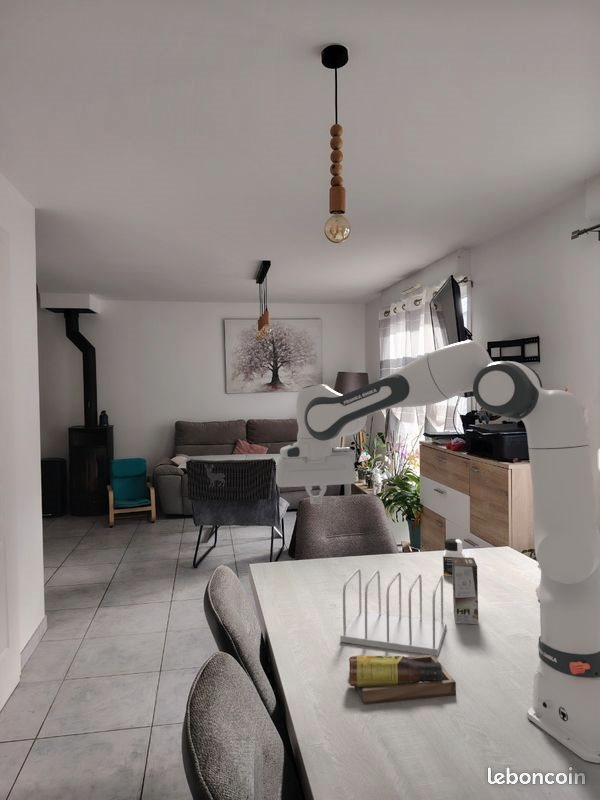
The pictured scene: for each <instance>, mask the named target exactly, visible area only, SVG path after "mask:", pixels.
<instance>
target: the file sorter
mask: <svg viewBox="0 0 600 800" xmlns="http://www.w3.org/2000/svg"><path fill="white" fill-rule="evenodd" d="M357 573H358V593H359V594H358V597H359V598H358V599H359V601H358V603H359V604H358V607H359V609H358V610H359V611H357V612H356V613H355V615H354V616H353V617H352V619H351V620H350V622H349V623H348V624H346V613H347V611H346V590H347V589H346V588H347V585H348V583H349V582H350V581H351V580H352V579H353V578H354V576H356V574H357ZM376 575H377V592H378V593H377V594H378V613H377V612H368V588H369V585H370V583H371V582H372V580H373V579H374V578H375V577H376ZM397 577H398V606H399V607H398V609H399V610H398V613H399V615H392V614H390V589H391V586H392V584H393V583H394V581H395V580H396V579H397ZM418 580H419V618H418V617H417V618H416V617H412V590H413V588H414V586H415V585H416V583H417V581H418ZM422 581H423V580H422V575H421V573H417V575H416V577H415V578H414V580H413V581H412V583H411V584H410V586H409V588H408V589H409V590H408V616H402V574H401V572H400V571H397V572H396V573H395V575H394V576H393V577H392V578H391V580H390V581H389V583H388V584H387V586H386V587H387V588H386V600H385V601H386V603H385V604H386V613H385V614H383V613H382V603H381V600H382V599H381V598H382V597H381V574H380V571H379V569H376V570H374V572H373V573H372V575H371V576H370V577H369V578H368V580H367V581H366V583H365V588H364V611H362V572H361V569H360V568H355V570H354V572H353V573H352V574H351V575H350V576H349V577H348V578H347V579H346V580H345V582H344V584H343V588H342V618H343V620H342V621H343V622H342V623H343V626H342V628H343V631H342V632H341V634H340V635H339V636H340V638H339V640H340V642H341V643H345V644H347V643H348V644H354V645H360V646H365V647H368V646H369V647H374V648H380V649H387V650H394V651H400V652H402V651H403V652H407V651H408V652H409V653H414V652H415V654H421V653H422V654H423V655H428V654H429V655H434V656H435V657H436V656H439V654H440V651H441V647H442V644H443V641H444V637H445V633H446V632H447V622H446V621H444V579H443V575H442V574H440V575H439V576H438V579H437V580H436V583H435V585H434V588H433V591H432V603H431V604H432V619H423V596H422V595H423V592H422V591H423V590H422V589H423V588H422V587H423V583H422ZM439 584H440V621H439V620H436V592H437V589H438V587H439ZM422 654H421V655H422Z"/></svg>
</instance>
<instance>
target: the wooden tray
mask: <svg viewBox="0 0 600 800" xmlns="http://www.w3.org/2000/svg"><path fill="white" fill-rule="evenodd" d="M406 657H407V658H409V659H412V660H415V661H417V662H420V663H421V662H422V663H433V662H440V661H439V659H438V658H437V657H436V655H428V654H423V655H413V656H406ZM441 667H442V681H434V682H419V683H413V684H403V685H393V686H383V687H358V686H355V688H356V691H357V693H358V695H359V697H360V699H361V701H362V703H363V705H373V704H382V703H383V704H384V703H391V702H401V701H411V700H419V699H421V700H423V699H429V698H430V699H431V698H440V697H450V696H456V695H457V681H456V679H454V678H453V677H452V675H451V674H450V673H449V672H448V670H447V669H446V668H445V667H444V666H443V665H442V664H441Z"/></svg>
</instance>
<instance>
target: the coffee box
mask: <svg viewBox="0 0 600 800" xmlns="http://www.w3.org/2000/svg"><path fill="white" fill-rule="evenodd" d="M452 575H453V576H452V597H453V598H452V601H453V603H452V604H453V614H454V621H455V623H456V624H467V625H470V624H471V625H479V592H478V590H479V589H478V587H479V585H478V584H479V582H478V564H477V562H476V561H475V558H474V557H464V558H452Z"/></svg>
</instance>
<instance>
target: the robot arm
mask: <svg viewBox="0 0 600 800" xmlns="http://www.w3.org/2000/svg"><path fill="white" fill-rule="evenodd" d="M469 392H472V393H473V397H474V399H475V401H476V402H477V404H478V406H480V407H481V408H482V409H483V410H484V411H486V412H488V413H490V414H493V415H495V416H499V417H505V418H510V419H514V420H521V421H522V422H523V424H524V427H525V431H526V436H527V438H526V439H527V446H528V458H529V467H530V476H531V477H530V478H531V487H532V489H531V490H532V519H533V520H532V521H533V522H532V523H533V525H532V526H533V539H534V540H533V541H534V553H535V559H536V561H537V563H538V565H539V566H540V567H541V570H540V579H541V587H540V600H539V617H540V619H539V621H540V622H539V623H540V624H539V625H540V635H539V636H538V644H537V649H538V657H539V659H540V660H539V664H538V667H537V669H536V670H535V672H534V675H533V689H532V690H533V691H532V705H531V707H530V708H529V709H528V710H527V714H526V715H527V719H528V720H530V721H531V722H532V723H534V724H535V725H537V726H538V727H539V728H540V729H542V730H543V731H544V732H546V733H547V734H548V735H550V736H551V737H553V738H554V739H555V740H557V741H558V742H559V743H561V745H563V746H565V747H566V748H567V749H568V750H570V751H571V752H572V753H574V754H575V755H576V756H578V757H580V758H581V759H582V760H584V761H586V762H591V763H595V764H600V530H599V528H598V525H597V524H598V523H597V514H596V512H597V510H596V501H595V499H596V498H595V487H594V477H593V468H592V457H591V449H590V440H589V434H588V433H589V432H588V427H587V423H586V419H585V415H584V412H583V409H582V406H581V404H580V401H579V399H578V398H577V396H576V395H574V394H573V393H572V392H569V391H566V390H561V389H552V390H551V389H549V390H548V389H544V388H543V383H542V380H541V378H540V375H539V374H538V373H537V372H536V371H535V370H534V369H533V368H531V367H529V366H527V365H525V364H523V363H519V362H517V361H513V360H512V361H509V360H506V361H504V360H500V361H493V360H492V359H491V356H490V355H489V352H488V351H487V349H486V348H485V346H483V345H482V344H481V343H479V342H478V341H476V340H470V339H469V340H464V341H460V342H455V343H452V344H448V345H446V346H443V347H440V348H438V349H435V350H433V351H431V352H428V353H426V354H423V355H422V356H420V357H419V358H418V357H417V358H416V359H414V360H413V361H411V362H409V363H408V364H405V365H404V366H403V367H401V368H398V369H397V370H395V371H393V372H391V373H390V374H388V375H386V376H384V377H382V378H381V379H378V380H376V381H374V382H371V383H369V384H365V385H364V386H362V387H360V388H356V389H354V390H352V391H349V392H348V393H345V394H342V393H339V392H337V391H336V390H334V389H332V388H331V387H330V386H329V385H328V384H326V383H325V384H324V383H317V384H310V385H306V386H304V387H302V388H301V389H300V390H299V391H298V394H297V399H296V423H297V428H298V431H297V436H296V440H297V441H296V442H294V443H290V444H288V445H285V446H283V447H281V448H280V450H279V454H280V456H281V457H280V458H279V459H278V460H277V464H276V470H275V484H276V485H277V487H278V488H293V487H295V488H296V487H305V491H306V492H307V494H308V495H309V497H310V498H309V501H310V502H309V503H310V504H311V505H312V504H313V505H315V504H323V497H324V495H325V494H326V491H327V489H328V488H327V486H332V485H333V486H335V485H336V486H337V485H338V486H339V485H352V484H354V483H355V482H356V477H357V476H356V470H355V463H356V453H355V451H354V450H353V449H352V448H350V447H333V439H335V438H341V437H348V436H353V435H356V434H358V433H360V432H362V431H363V430H364V428H365V426H366V424H367V422H368V416H370V415H372V414H375V413H378V412H380V411H383V410H389V409H394V408H395V409H396V408H415V407H424V406H425V407H426V406H431V405H434V404H438V403H442V402H445V401H447V400H450V399H452V398H454V397H457V396H459V395H462V394H465V393H469ZM313 486H315V487H317V486H319V489H320V492H319V493H318V495H314V494H313V493H312V491H313Z"/></svg>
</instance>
